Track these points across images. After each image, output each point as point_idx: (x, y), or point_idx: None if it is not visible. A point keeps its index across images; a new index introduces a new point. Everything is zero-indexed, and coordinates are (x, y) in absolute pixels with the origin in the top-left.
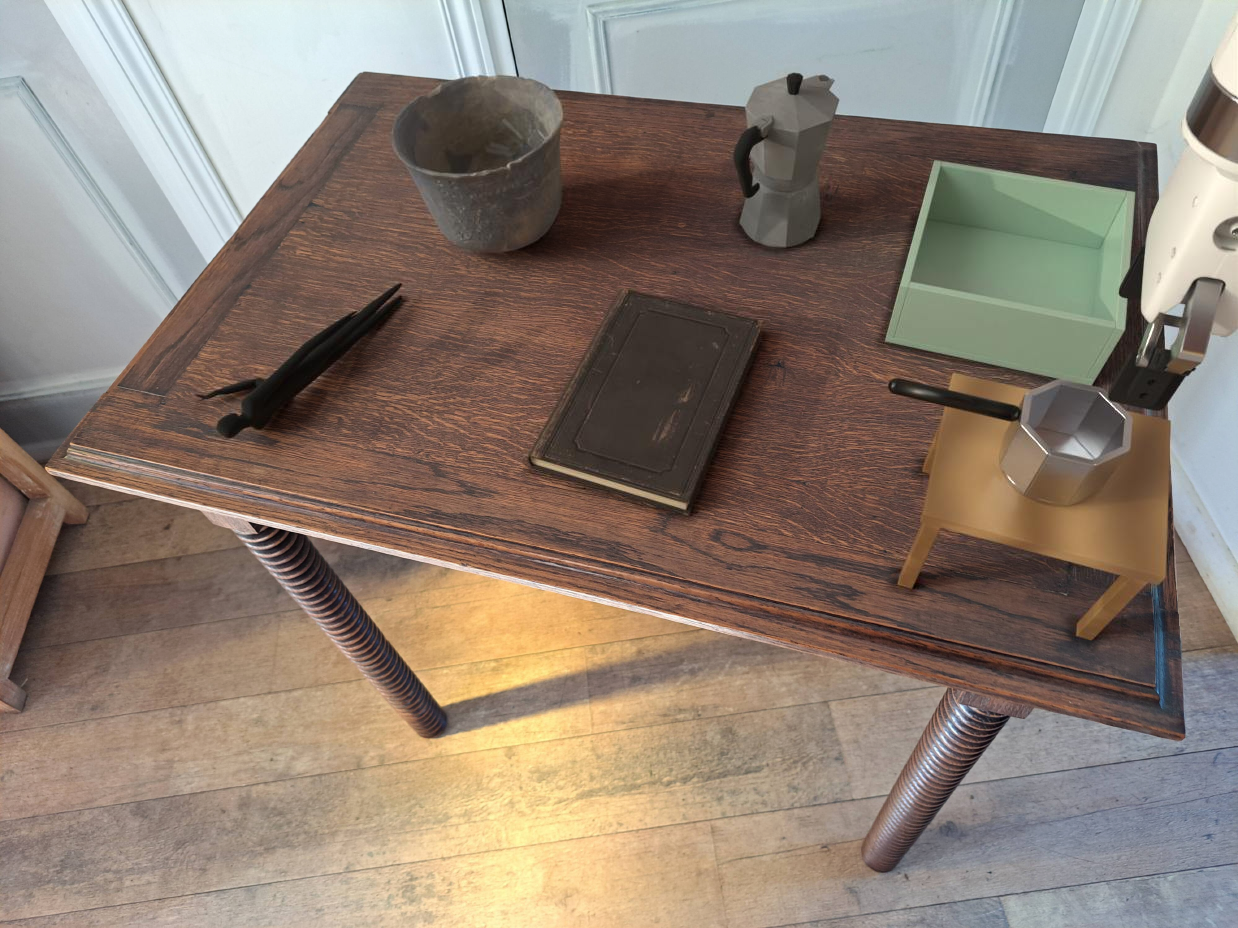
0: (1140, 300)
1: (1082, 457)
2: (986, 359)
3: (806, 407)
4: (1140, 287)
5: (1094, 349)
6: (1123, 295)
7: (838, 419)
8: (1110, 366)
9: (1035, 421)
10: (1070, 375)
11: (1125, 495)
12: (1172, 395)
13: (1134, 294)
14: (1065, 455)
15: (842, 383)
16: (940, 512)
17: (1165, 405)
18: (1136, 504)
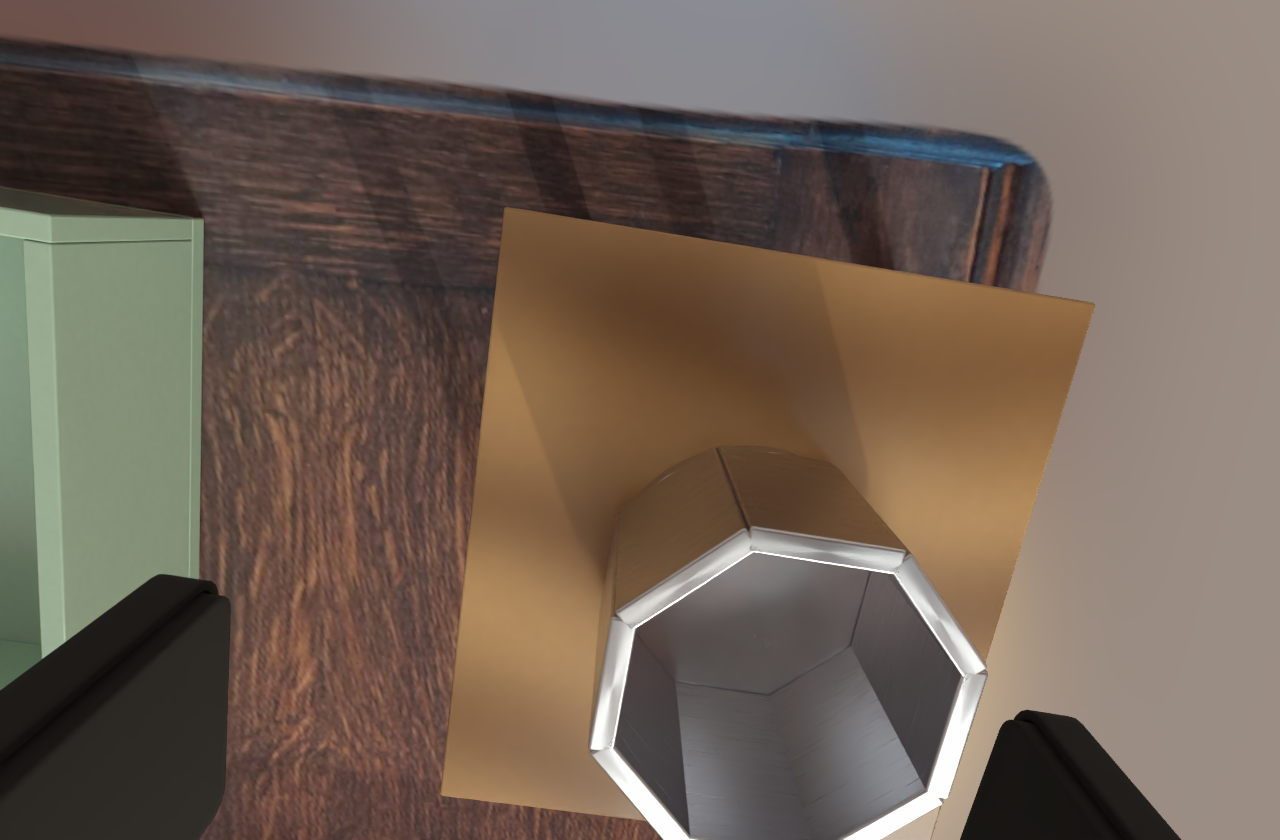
0: (223, 711)
1: (956, 706)
2: (193, 465)
3: (426, 799)
4: (166, 815)
5: (122, 262)
6: (212, 800)
7: (443, 742)
8: (121, 163)
9: (633, 652)
10: (191, 277)
11: (823, 381)
12: (1151, 808)
13: (202, 776)
14: (949, 755)
15: (344, 741)
16: (919, 822)
17: (1091, 739)
18: (853, 355)
